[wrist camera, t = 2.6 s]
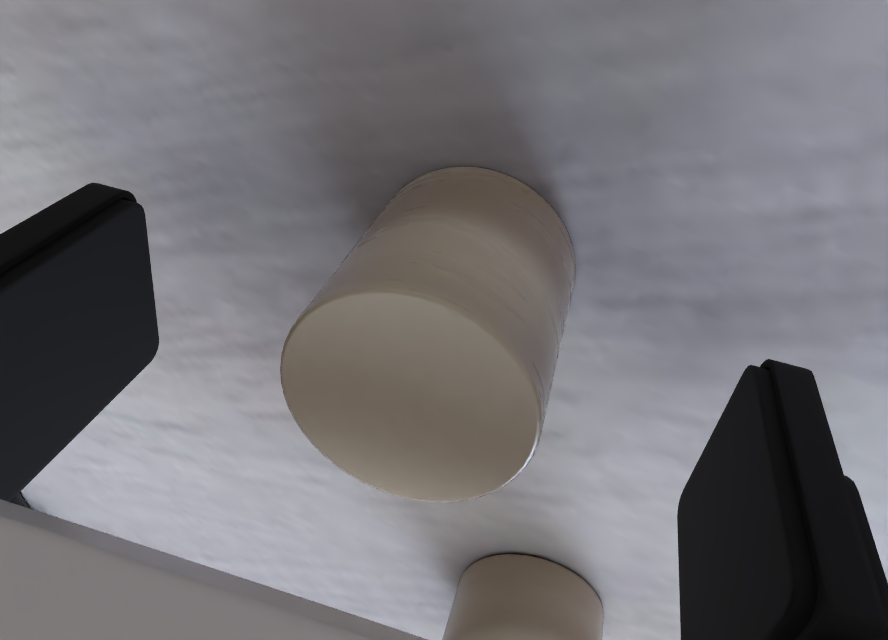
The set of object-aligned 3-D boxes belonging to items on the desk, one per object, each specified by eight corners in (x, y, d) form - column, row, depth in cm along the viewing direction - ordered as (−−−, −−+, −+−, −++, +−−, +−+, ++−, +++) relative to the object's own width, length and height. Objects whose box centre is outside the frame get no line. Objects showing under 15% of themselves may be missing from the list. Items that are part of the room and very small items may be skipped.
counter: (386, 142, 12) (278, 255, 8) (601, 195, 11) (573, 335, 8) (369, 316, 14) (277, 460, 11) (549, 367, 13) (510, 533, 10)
